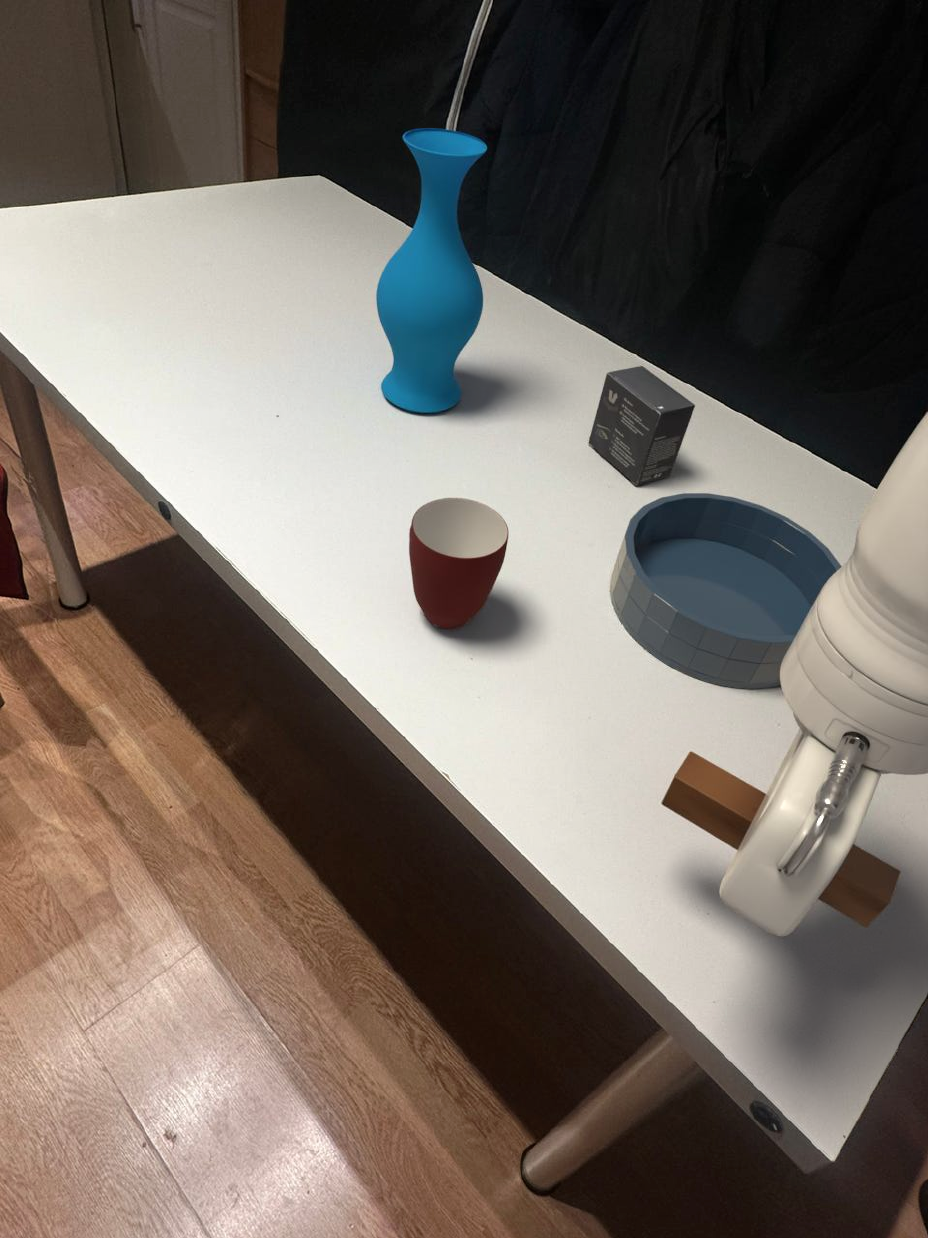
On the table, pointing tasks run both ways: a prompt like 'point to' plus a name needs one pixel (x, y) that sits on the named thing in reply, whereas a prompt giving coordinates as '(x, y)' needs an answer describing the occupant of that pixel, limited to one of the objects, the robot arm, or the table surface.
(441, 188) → the vase
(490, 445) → the table surface
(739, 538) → the bowl
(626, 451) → the box
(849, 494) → the table surface
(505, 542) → the mug
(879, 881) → the stick
